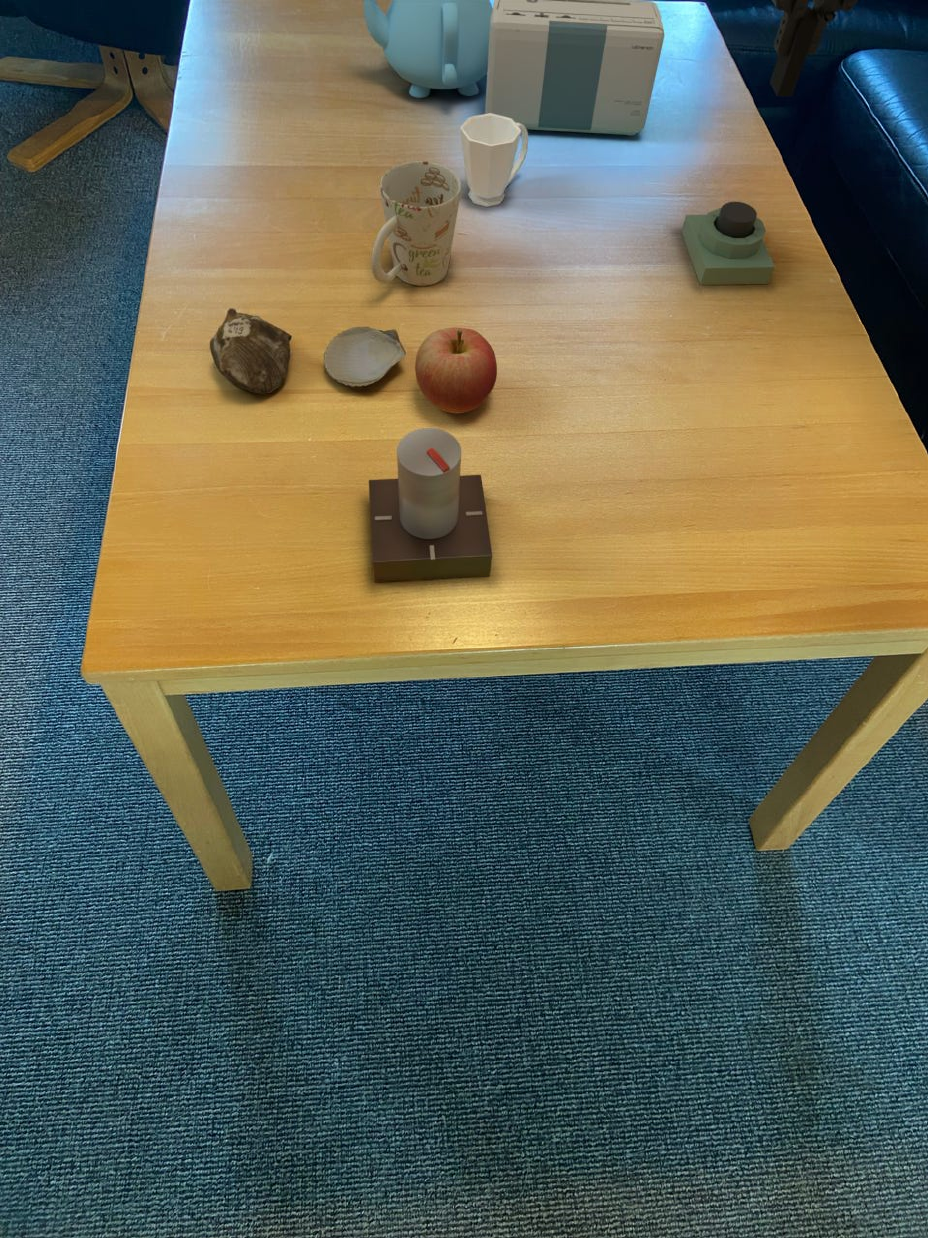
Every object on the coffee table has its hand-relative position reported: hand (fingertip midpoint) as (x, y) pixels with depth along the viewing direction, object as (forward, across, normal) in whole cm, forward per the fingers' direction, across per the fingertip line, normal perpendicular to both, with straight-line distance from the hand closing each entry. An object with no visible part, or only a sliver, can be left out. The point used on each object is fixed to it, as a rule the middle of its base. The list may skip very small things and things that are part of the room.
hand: (780, 89), depth 81 cm
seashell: (+19, +42, +17) cm, 49 cm away
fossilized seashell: (+19, +53, +17) cm, 59 cm away
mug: (+19, +37, +3) cm, 41 cm away
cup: (+19, +26, -14) cm, 34 cm away
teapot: (+19, +30, -41) cm, 54 cm away
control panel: (+18, +37, +39) cm, 57 cm away
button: (+15, 0, 0) cm, 15 cm away
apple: (+19, +33, +22) cm, 44 cm away
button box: (+18, 0, 0) cm, 18 cm away
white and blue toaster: (+19, +15, -29) cm, 38 cm away
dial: (+15, +37, +39) cm, 56 cm away
